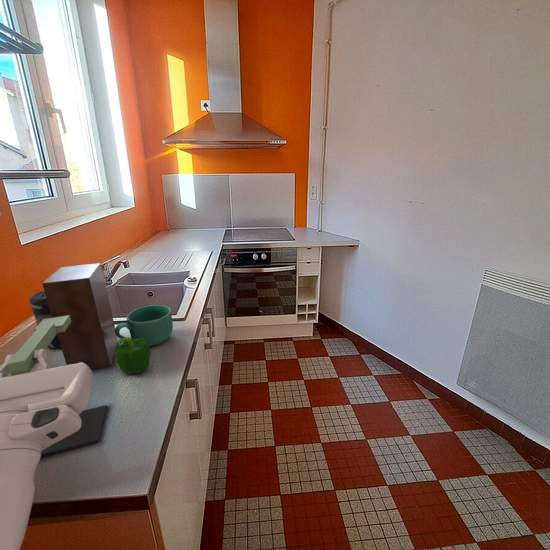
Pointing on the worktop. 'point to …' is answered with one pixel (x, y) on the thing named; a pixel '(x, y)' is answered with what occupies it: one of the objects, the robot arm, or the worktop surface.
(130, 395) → the worktop surface
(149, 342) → the mug
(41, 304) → the canister
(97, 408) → the mat
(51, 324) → the hammer
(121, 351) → the bell pepper
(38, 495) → the worktop surface
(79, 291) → the stand
